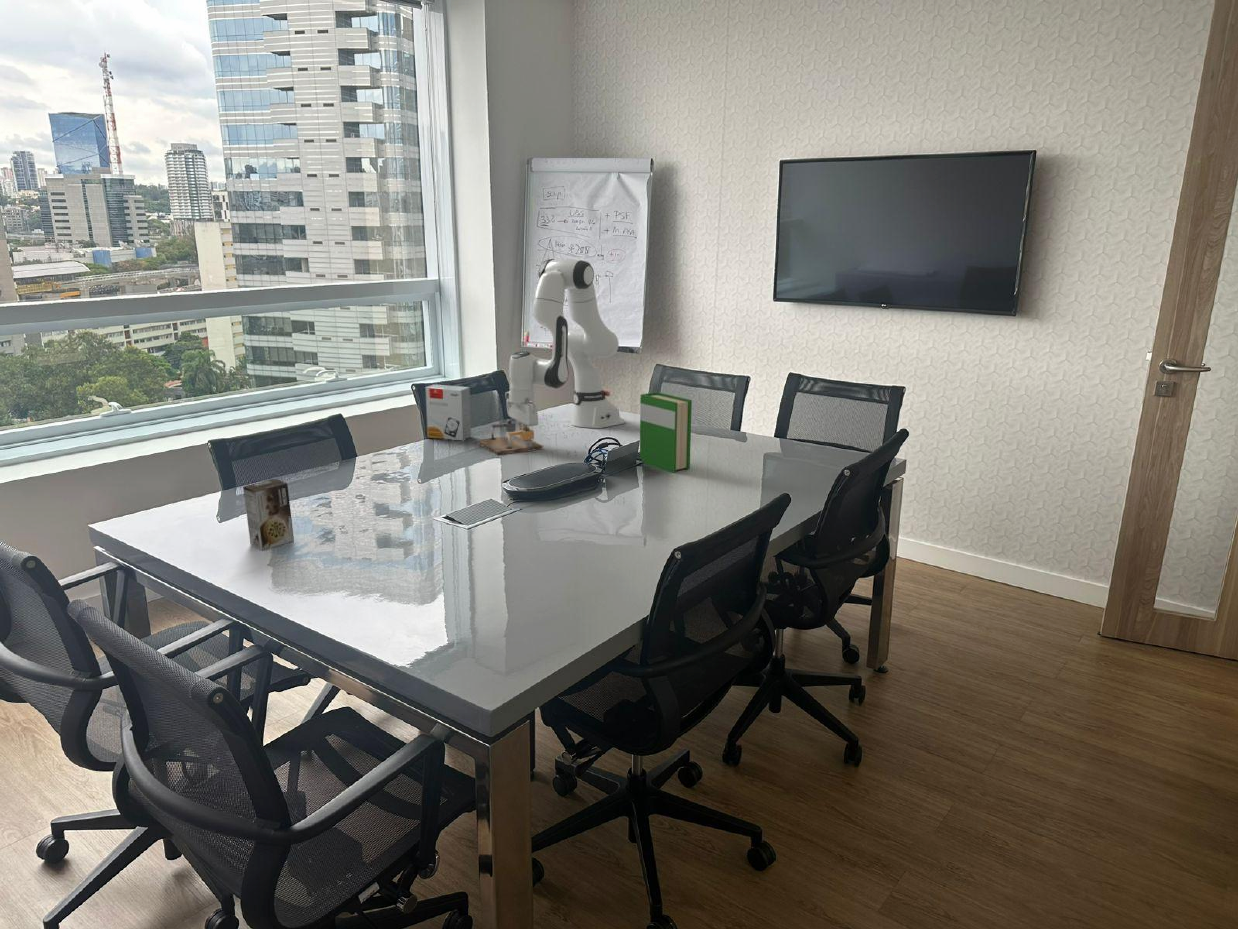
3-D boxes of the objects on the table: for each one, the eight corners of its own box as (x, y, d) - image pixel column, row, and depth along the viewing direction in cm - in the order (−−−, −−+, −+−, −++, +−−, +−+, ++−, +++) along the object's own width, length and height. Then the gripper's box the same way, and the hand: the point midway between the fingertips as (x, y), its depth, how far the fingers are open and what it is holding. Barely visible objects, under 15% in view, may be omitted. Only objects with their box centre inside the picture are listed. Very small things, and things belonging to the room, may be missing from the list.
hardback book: (689, 469, 294) (691, 400, 288) (673, 473, 290) (675, 402, 283) (655, 458, 308) (656, 391, 301) (639, 461, 303) (640, 394, 297)
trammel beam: (513, 435, 334) (512, 419, 332) (534, 446, 318) (533, 429, 316) (490, 438, 330) (489, 421, 328) (510, 449, 314) (510, 432, 312)
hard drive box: (426, 438, 334) (423, 387, 328) (436, 433, 341) (433, 384, 336) (463, 441, 330) (460, 389, 324) (472, 436, 337) (470, 386, 331)
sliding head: (529, 442, 321) (529, 426, 320) (534, 444, 318) (533, 428, 317) (506, 445, 317) (505, 429, 315) (510, 447, 314) (509, 431, 312)
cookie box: (281, 535, 231) (275, 477, 226) (294, 541, 227) (288, 482, 222) (249, 545, 224) (242, 485, 220) (262, 551, 220) (255, 490, 216)
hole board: (520, 437, 336) (520, 434, 336) (542, 448, 320) (542, 445, 319) (476, 442, 327) (476, 439, 327) (497, 455, 311) (496, 451, 310)
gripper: (542, 400, 310) (542, 437, 314) (518, 390, 327) (519, 426, 330) (525, 402, 307) (526, 440, 310) (503, 392, 324) (504, 428, 327)
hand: (522, 433), depth 321 cm, fingers closed
